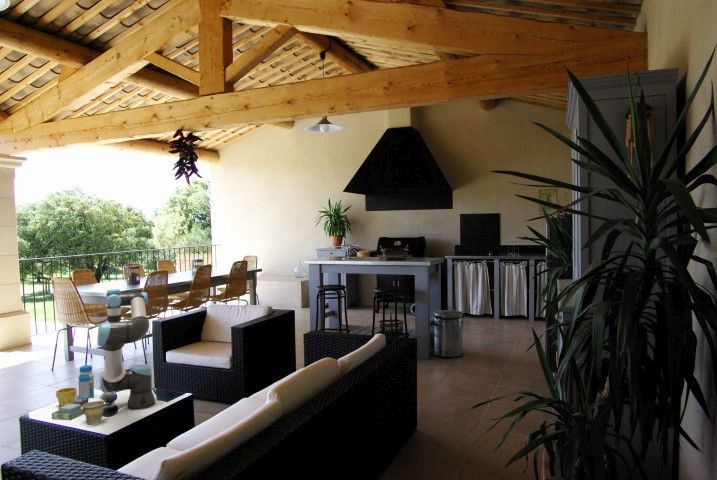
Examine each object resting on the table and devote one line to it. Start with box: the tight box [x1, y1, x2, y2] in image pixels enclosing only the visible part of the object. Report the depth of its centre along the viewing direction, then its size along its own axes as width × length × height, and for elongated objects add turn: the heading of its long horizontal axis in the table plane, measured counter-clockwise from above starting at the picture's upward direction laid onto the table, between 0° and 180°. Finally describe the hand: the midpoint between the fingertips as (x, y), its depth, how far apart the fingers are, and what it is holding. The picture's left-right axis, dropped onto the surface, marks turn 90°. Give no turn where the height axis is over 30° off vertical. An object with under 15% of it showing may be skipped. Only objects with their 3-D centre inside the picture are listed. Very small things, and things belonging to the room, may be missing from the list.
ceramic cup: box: [83, 400, 107, 426], centre depth 257 cm, size 13×10×10 cm
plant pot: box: [55, 387, 78, 407], centre depth 283 cm, size 10×10×10 cm
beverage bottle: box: [77, 364, 95, 400], centre depth 296 cm, size 8×8×20 cm
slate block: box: [57, 403, 81, 414], centre depth 264 cm, size 8×7×5 cm
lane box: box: [51, 398, 103, 421], centre depth 270 cm, size 12×25×4 cm, turn 168°
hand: (115, 353), depth 292 cm, fingers closed
